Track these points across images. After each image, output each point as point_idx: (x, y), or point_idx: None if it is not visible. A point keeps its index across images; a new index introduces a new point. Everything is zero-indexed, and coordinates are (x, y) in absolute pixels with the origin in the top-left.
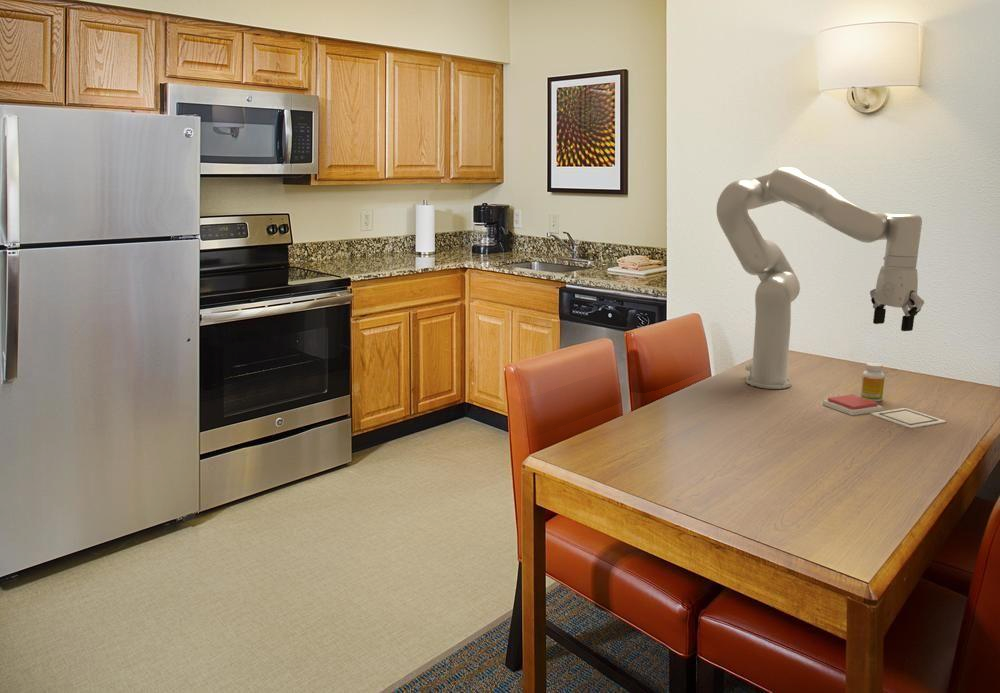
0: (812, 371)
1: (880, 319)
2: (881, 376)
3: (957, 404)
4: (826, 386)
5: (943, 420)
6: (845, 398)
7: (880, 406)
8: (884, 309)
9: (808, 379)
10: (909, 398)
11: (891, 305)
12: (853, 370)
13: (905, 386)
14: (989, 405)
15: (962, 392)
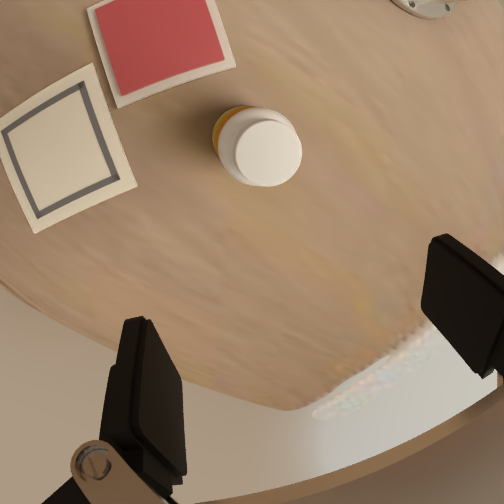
0: (480, 146)
1: (441, 295)
2: (221, 158)
3: (181, 327)
4: (380, 86)
5: (38, 229)
6: (182, 18)
7: (117, 102)
8: (482, 367)
9: (437, 87)
10: (238, 248)
11: (305, 494)
12: (460, 240)
13: (337, 289)
14: None
15: (270, 370)
